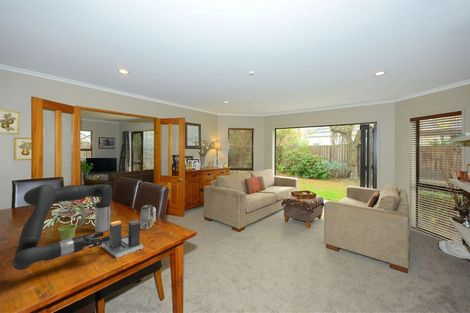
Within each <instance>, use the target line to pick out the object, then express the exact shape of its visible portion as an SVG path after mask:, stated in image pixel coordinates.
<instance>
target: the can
mask: <svg viewBox="0 0 470 313" xmlns="http://www.w3.org/2000/svg"><path fill="white" fill-rule="evenodd" d="M156 215H157V209H156V207H155V206H153V223H155V222H156V220H157V216H156Z"/></svg>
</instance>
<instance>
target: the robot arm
mask: <svg viewBox="0 0 470 313" xmlns="http://www.w3.org/2000/svg"><path fill="white" fill-rule="evenodd" d="M112 195H113V188H112V185H110V184H100V183H99V184H93V185H82V184H81V185H80V184H79V185H77V184H76V185H68V186H63V187H58V188H55V187H54V186H53V185H51V184H45V183H44V184H41V185H39V186H36V187H32V189H30V190H27V191H26V192H25V193H24V195H23V200H24V202H25V203H26V204H27V205H30V206H34V210H33V211H32V213H30V216H29V217H28V218H27V220H26V222H25V223H24V225H23V227H22V229H21V232H20V237H19V240H18V244H17V245H18V246H17V249H16V251H15V254H14V257H13V259H12V267H13V269H15V270H18V271H22V270H26V269H28V268H30V267H31V266H32V265H33V264H34V263H38V262H42V261H51V260H53V259H58V258H61V257H64V256H65V257H66V256H69V255H71V254H75V253H79V252H81V251H83V250H84V248H86V247H88V249H93V248H95V247H99V246H102V243H103V242H105V241H109V240H110V235H107V236H105V237H104V233H105V232H107V230H108V231H110V223H111V204H112V197H113V196H112ZM88 197H89V198H90V197H95V198H100V200H99V201H97V202H96V203H95V205H94V208H95V209H94V210H95V212H94V232H96V233H93V232H91V233H87V234H84V235H78V236H74V238H70V239H66V240H63V241H61V240H60V241H58V242H54V243H50V244H47V245H41V246H40V245H39V242H40V240H41V236H42V232H43V228H44V224H45V221H46V218H47V217H48V214H49V212H50V209H51V206H52V205H53V203H58V202H59V203H60V202H61V203H62V202H72V201H81V200H84V199H86V198H88ZM100 237H101V238H100ZM38 245H39V246H38Z"/></svg>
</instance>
